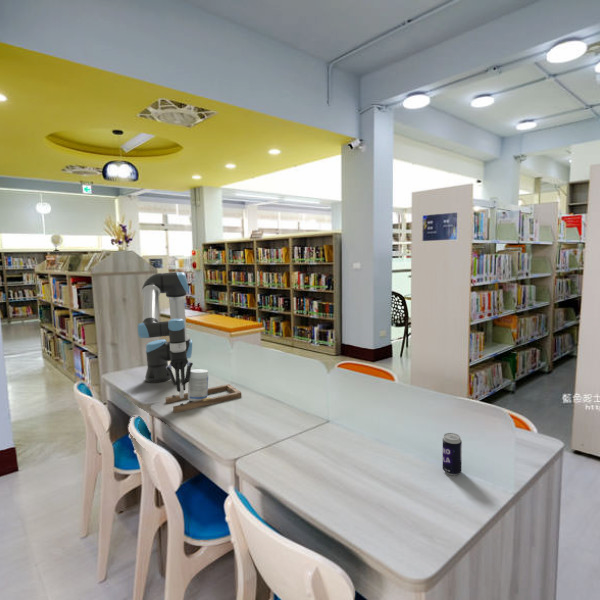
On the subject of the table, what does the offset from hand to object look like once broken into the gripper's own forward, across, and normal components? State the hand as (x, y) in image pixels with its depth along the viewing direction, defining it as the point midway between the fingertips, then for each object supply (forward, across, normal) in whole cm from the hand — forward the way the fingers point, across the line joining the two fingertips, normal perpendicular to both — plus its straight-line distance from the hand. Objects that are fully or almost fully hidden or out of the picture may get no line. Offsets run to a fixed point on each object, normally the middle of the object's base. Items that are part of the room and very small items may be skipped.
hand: (181, 397), depth 196 cm
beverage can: (+4, +53, -116) cm, 128 cm away
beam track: (+4, +10, 0) cm, 11 cm away
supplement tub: (+3, +8, 0) cm, 8 cm away
